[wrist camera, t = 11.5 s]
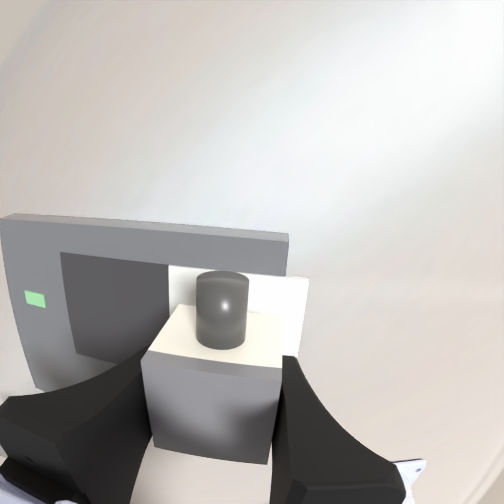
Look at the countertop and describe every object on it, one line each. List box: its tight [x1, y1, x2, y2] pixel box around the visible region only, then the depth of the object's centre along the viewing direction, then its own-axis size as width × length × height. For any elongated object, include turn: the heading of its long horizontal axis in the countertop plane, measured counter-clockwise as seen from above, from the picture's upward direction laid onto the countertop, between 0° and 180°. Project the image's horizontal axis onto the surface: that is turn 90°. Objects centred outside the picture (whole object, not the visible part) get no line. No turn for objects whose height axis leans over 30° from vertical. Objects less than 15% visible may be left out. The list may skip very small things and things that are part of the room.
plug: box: [141, 271, 282, 465], centre depth 11 cm, size 6×4×4 cm, turn 176°
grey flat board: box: [0, 214, 309, 392], centre depth 16 cm, size 12×17×2 cm
